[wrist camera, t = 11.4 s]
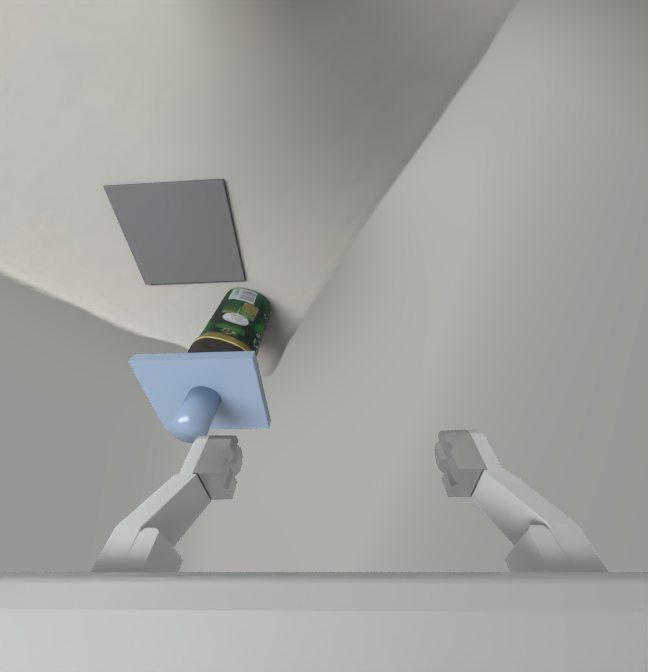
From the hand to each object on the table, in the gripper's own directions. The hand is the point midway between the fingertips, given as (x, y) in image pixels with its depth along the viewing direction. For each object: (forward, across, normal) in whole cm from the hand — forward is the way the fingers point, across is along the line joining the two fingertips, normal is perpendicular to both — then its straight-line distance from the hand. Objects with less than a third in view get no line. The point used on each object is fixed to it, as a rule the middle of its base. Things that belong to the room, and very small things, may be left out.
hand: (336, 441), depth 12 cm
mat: (+35, +22, 0) cm, 41 cm away
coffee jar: (+35, +15, +13) cm, 41 cm away
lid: (+17, +15, +13) cm, 26 cm away
